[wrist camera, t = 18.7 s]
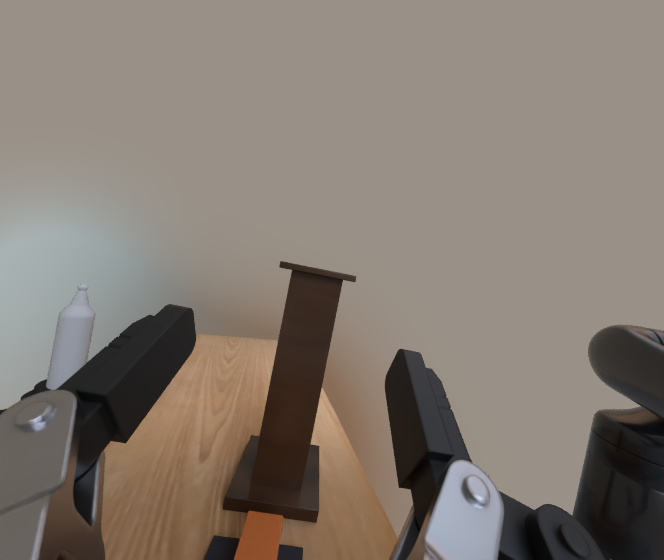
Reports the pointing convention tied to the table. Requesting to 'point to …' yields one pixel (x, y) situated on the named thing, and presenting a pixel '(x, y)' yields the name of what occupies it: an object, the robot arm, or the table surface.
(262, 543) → the lever bar
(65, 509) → the robot arm
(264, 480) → the pedestal
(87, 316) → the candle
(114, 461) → the table surface
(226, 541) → the mat
